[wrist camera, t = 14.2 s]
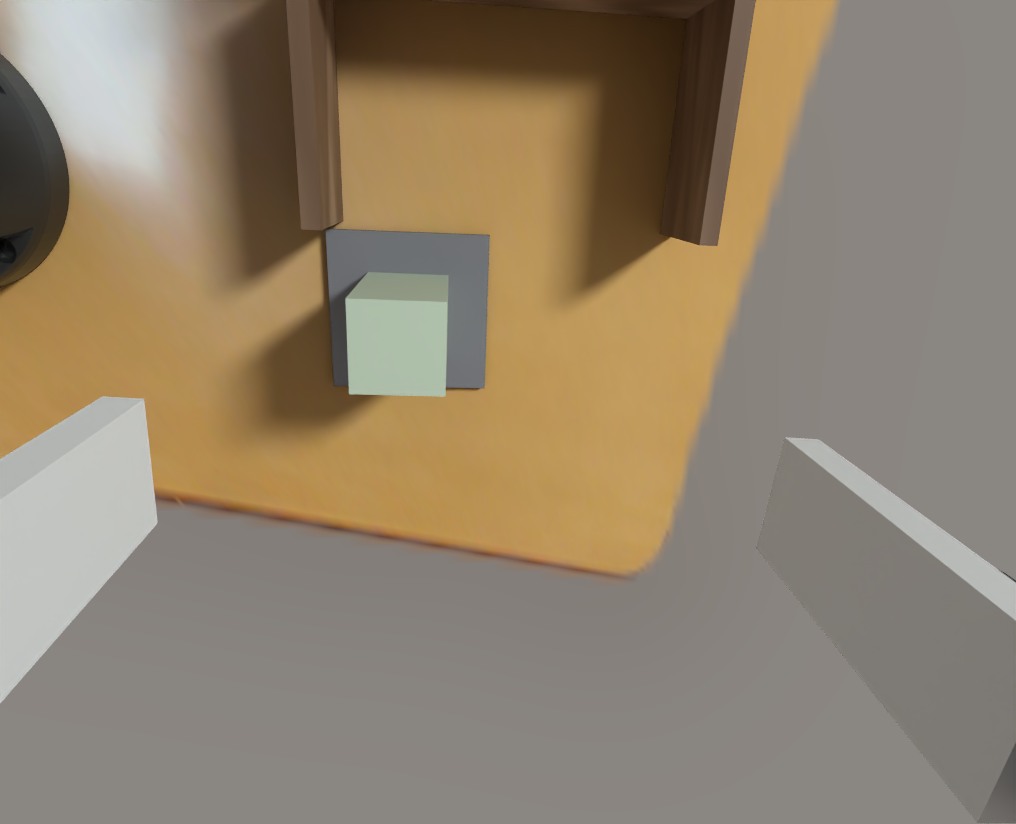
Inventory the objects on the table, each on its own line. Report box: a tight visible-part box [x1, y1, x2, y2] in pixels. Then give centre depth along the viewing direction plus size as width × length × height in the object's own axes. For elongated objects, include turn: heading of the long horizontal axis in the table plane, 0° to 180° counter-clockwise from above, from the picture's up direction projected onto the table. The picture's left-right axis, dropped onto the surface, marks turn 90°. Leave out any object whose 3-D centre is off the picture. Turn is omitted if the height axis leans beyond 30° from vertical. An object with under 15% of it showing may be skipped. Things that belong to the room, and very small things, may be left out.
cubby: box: [286, 0, 756, 246], centre depth 34 cm, size 22×13×7 cm, turn 88°
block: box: [345, 272, 448, 396], centre depth 37 cm, size 5×5×9 cm
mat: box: [326, 229, 490, 388], centre depth 41 cm, size 10×10×1 cm
